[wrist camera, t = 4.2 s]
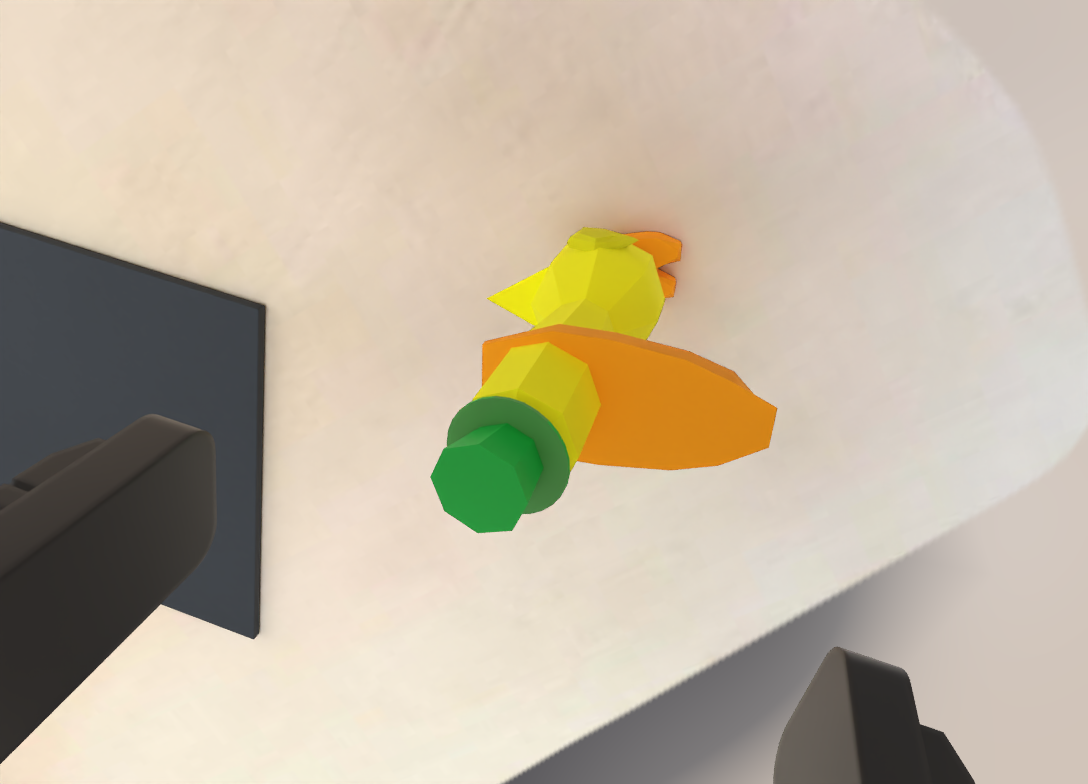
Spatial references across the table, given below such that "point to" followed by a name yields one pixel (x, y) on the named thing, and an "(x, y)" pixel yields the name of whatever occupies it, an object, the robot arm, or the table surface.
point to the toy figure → (590, 387)
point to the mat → (137, 388)
